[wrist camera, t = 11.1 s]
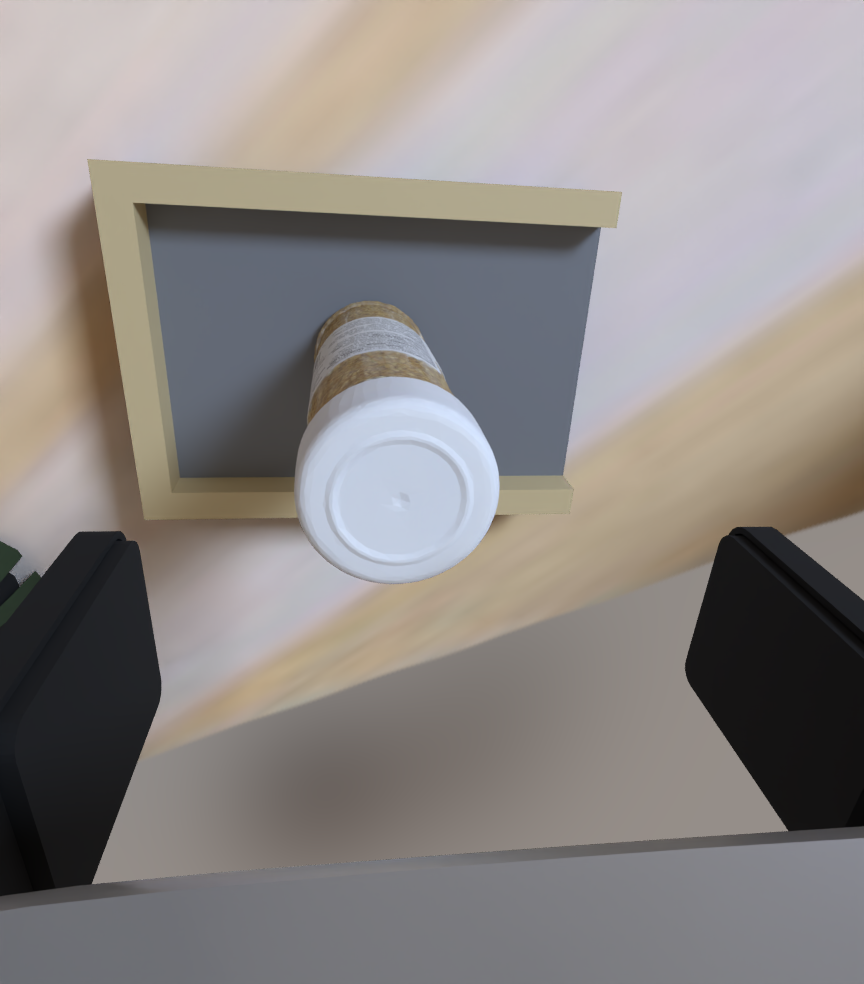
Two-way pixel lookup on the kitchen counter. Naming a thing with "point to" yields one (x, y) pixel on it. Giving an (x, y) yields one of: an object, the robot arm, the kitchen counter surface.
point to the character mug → (12, 583)
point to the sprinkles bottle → (389, 454)
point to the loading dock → (316, 297)
